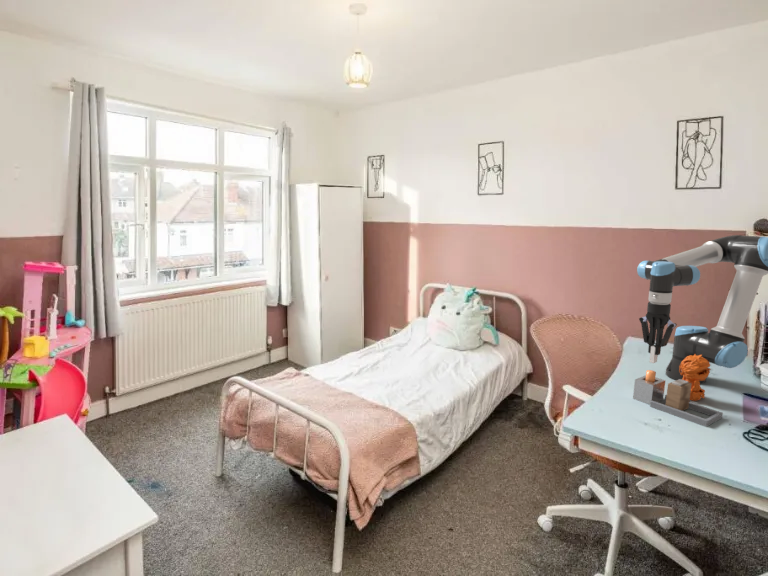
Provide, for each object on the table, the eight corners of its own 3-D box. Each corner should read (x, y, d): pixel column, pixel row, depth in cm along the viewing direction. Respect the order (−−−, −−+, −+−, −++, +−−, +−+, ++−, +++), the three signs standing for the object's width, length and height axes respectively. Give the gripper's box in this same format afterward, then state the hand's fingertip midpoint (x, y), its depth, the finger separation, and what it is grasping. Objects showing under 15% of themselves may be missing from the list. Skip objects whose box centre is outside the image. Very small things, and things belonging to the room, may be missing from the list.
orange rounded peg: (647, 383, 183) (649, 369, 182) (655, 386, 181) (657, 372, 180) (643, 385, 182) (644, 371, 181) (651, 388, 179) (653, 373, 178)
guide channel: (666, 399, 182) (667, 394, 182) (721, 417, 167) (722, 412, 166) (650, 406, 176) (650, 401, 175) (706, 426, 160) (706, 421, 160)
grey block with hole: (645, 393, 188) (647, 374, 186) (663, 399, 182) (665, 380, 180) (632, 398, 183) (635, 379, 181) (651, 405, 177) (653, 385, 176)
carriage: (675, 403, 178) (678, 377, 176) (688, 408, 174) (691, 381, 172) (664, 408, 173) (668, 382, 171) (677, 413, 170) (681, 386, 168)
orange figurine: (713, 404, 178) (719, 360, 174) (681, 402, 180) (687, 357, 176) (699, 393, 188) (705, 350, 185) (670, 391, 190) (675, 348, 187)
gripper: (636, 300, 178) (631, 359, 183) (672, 307, 168) (665, 369, 172) (647, 298, 183) (641, 355, 187) (682, 304, 172) (675, 364, 176)
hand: (653, 361), depth 180 cm, fingers closed
